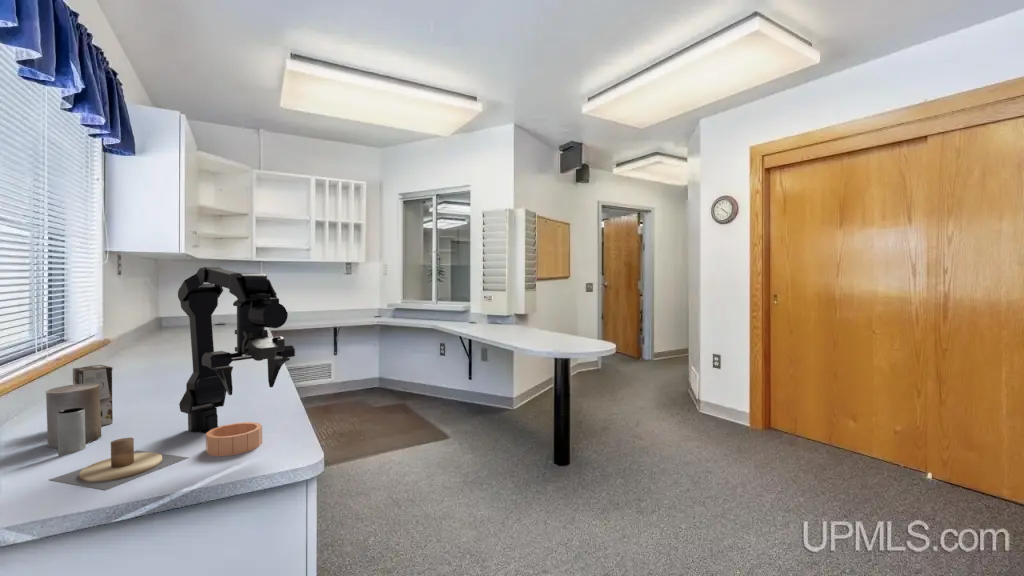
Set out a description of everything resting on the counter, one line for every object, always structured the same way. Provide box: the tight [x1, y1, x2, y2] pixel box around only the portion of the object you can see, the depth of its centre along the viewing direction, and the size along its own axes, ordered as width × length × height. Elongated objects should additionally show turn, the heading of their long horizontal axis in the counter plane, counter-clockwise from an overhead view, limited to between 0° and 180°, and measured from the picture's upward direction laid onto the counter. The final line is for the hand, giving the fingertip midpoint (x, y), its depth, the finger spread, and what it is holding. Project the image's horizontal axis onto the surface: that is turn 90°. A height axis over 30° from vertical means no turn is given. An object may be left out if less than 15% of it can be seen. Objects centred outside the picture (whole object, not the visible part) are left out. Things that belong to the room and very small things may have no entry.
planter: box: [57, 408, 86, 457], centre depth 103 cm, size 4×4×10 cm
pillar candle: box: [44, 382, 102, 449], centre depth 112 cm, size 10×10×15 cm
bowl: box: [205, 421, 263, 457], centre depth 105 cm, size 11×11×5 cm
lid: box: [79, 437, 162, 482], centre depth 93 cm, size 13×13×6 cm
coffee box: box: [72, 364, 114, 427], centre depth 126 cm, size 9×6×16 cm
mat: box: [48, 449, 190, 491], centre depth 93 cm, size 16×16×1 cm
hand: (251, 390), depth 106 cm, fingers open, 9 cm apart
